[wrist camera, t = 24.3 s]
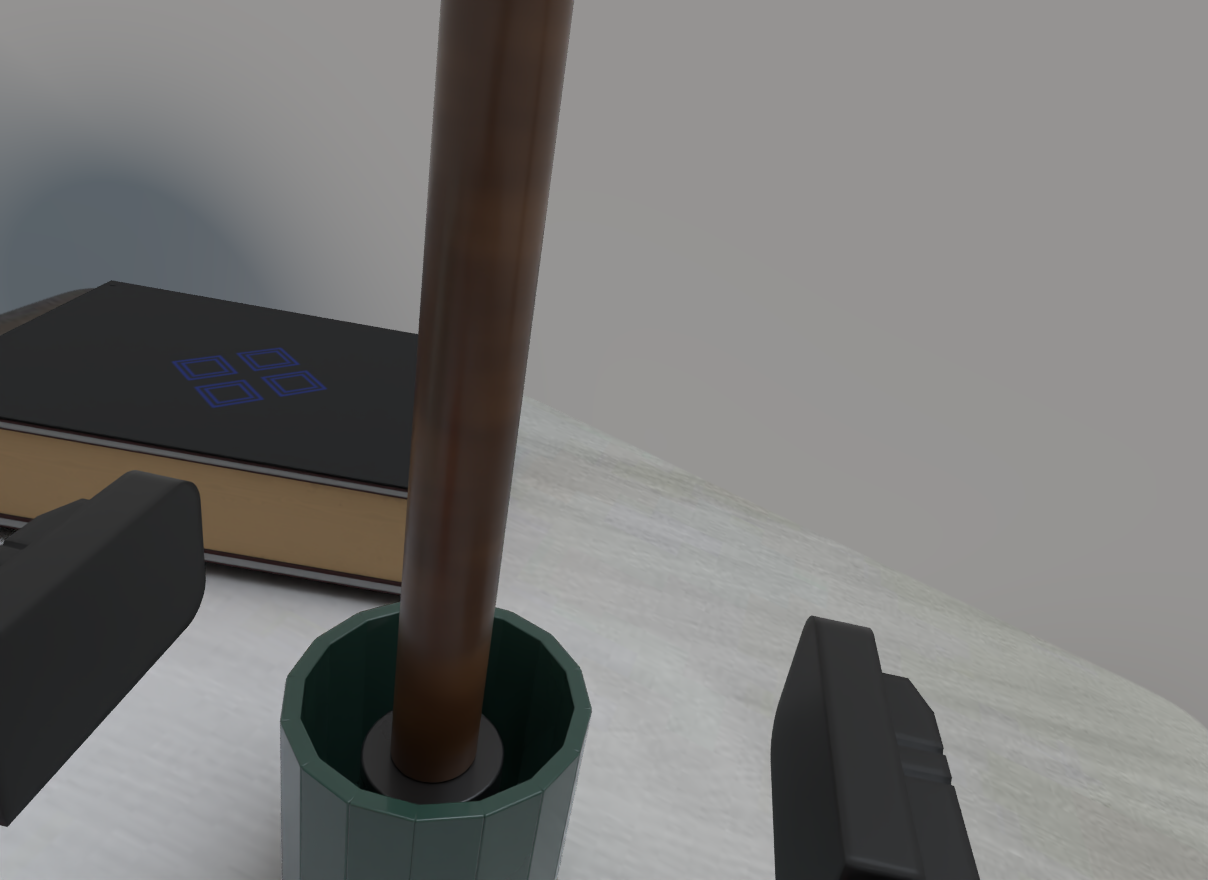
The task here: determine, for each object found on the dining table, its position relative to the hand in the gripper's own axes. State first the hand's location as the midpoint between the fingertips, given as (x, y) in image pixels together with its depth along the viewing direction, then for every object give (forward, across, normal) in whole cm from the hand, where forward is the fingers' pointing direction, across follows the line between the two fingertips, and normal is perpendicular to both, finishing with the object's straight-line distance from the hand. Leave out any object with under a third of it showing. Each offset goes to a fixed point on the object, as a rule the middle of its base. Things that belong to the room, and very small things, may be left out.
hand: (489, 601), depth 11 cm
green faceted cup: (+9, +3, +19) cm, 21 cm away
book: (+30, +19, +20) cm, 41 cm away
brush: (+8, +3, +18) cm, 20 cm away
